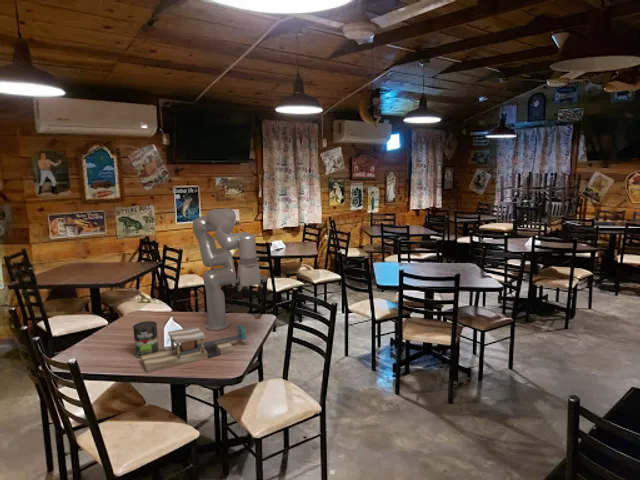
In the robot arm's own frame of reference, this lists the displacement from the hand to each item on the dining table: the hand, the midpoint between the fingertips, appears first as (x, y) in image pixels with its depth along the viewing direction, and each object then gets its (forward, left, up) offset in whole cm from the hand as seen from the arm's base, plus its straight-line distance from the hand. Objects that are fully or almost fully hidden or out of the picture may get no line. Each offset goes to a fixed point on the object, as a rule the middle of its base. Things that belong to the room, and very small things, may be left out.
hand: (250, 297), depth 211 cm
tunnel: (-6, -29, -25) cm, 39 cm away
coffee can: (-21, -44, -25) cm, 55 cm away
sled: (-6, -18, -21) cm, 28 cm away
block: (-6, -29, -22) cm, 37 cm away
